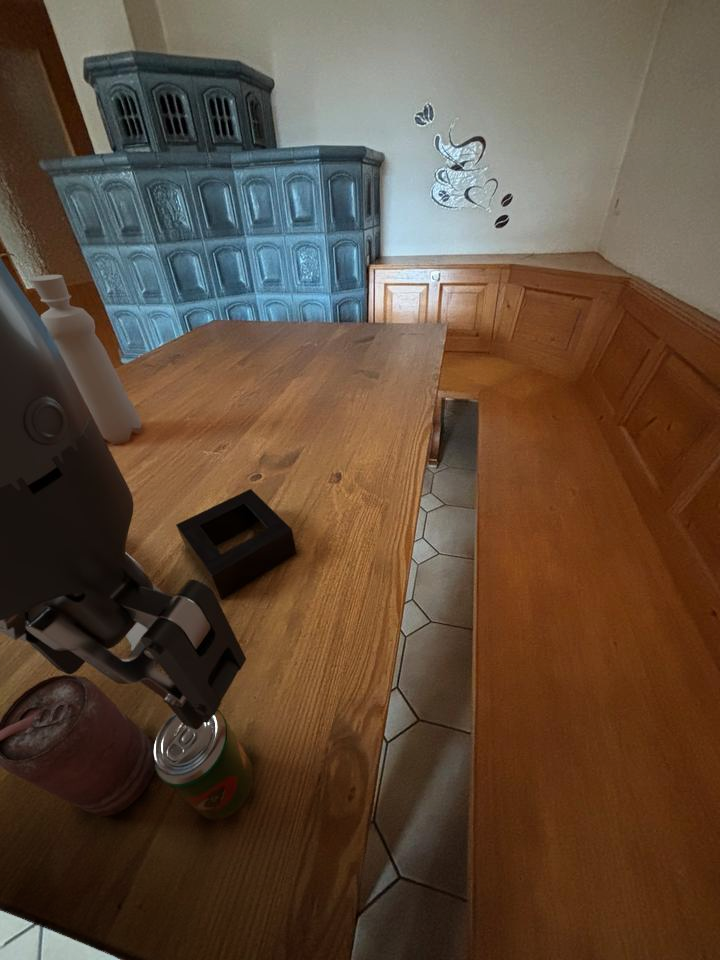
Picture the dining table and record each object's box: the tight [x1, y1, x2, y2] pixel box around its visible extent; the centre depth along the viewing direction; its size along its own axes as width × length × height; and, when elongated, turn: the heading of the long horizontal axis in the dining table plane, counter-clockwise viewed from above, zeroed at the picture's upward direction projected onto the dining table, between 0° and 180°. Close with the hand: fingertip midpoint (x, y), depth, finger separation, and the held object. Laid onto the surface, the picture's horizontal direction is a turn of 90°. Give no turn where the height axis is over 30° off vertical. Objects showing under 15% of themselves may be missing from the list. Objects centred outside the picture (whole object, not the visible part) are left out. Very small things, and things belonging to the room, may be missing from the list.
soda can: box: [153, 709, 254, 821], centre depth 31 cm, size 5×5×12 cm
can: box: [0, 674, 155, 817], centre depth 31 cm, size 6×6×14 cm
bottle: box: [29, 274, 142, 445], centre depth 71 cm, size 9×9×30 cm
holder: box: [176, 488, 297, 600], centre depth 54 cm, size 12×12×5 cm
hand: (141, 681), depth 21 cm, fingers open, 8 cm apart
